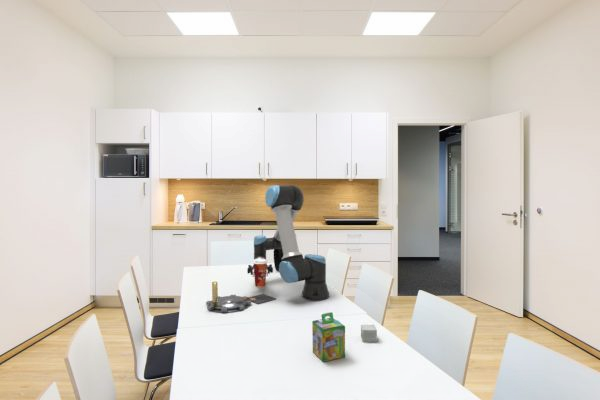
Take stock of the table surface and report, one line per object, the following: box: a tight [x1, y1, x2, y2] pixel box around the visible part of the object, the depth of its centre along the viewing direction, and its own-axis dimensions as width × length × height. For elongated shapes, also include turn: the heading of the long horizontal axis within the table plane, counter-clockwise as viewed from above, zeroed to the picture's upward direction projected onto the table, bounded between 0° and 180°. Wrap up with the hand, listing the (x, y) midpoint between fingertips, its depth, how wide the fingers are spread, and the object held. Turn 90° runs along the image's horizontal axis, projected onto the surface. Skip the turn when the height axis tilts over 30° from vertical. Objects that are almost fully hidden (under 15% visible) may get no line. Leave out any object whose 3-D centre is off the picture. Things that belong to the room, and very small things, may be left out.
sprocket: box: [205, 281, 253, 312], centre depth 181 cm, size 23×23×13 cm
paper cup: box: [253, 258, 268, 288], centre depth 191 cm, size 8×8×14 cm
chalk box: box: [311, 312, 346, 363], centre depth 127 cm, size 9×9×15 cm
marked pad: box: [248, 293, 277, 305], centre depth 191 cm, size 12×12×1 cm
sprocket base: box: [206, 304, 251, 314], centre depth 181 cm, size 22×22×1 cm
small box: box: [360, 324, 378, 343], centre depth 139 cm, size 6×6×5 cm
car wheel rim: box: [273, 248, 283, 272], centre depth 259 cm, size 20×10×20 cm, turn 16°
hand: (260, 274), depth 186 cm, fingers closed on paper cup, 7 cm apart
